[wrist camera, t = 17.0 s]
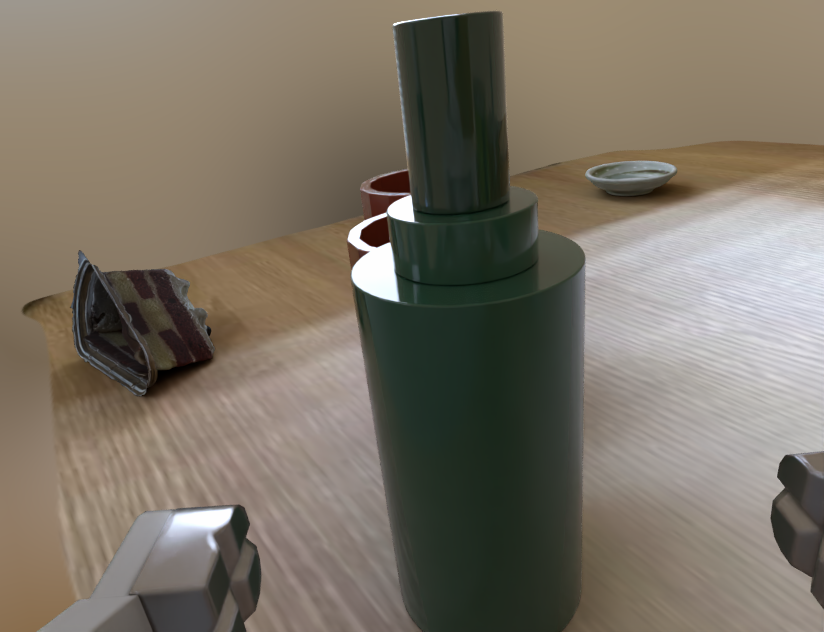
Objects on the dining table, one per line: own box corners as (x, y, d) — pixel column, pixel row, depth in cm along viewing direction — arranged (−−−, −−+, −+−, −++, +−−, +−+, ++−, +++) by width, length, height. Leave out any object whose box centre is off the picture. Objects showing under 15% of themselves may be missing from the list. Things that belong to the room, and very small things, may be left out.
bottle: (449, 694, 18) (363, 18, 10) (375, 548, 23) (285, 39, 16) (622, 605, 20) (654, -11, 12) (516, 491, 25) (495, 17, 18)
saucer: (568, 190, 71) (568, 170, 70) (636, 177, 73) (637, 157, 72) (620, 206, 62) (621, 183, 61) (695, 190, 65) (697, 168, 64)
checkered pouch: (257, 362, 40) (196, 218, 43) (151, 380, 34) (92, 215, 38) (202, 421, 45) (153, 290, 49) (105, 445, 40) (57, 296, 44)
